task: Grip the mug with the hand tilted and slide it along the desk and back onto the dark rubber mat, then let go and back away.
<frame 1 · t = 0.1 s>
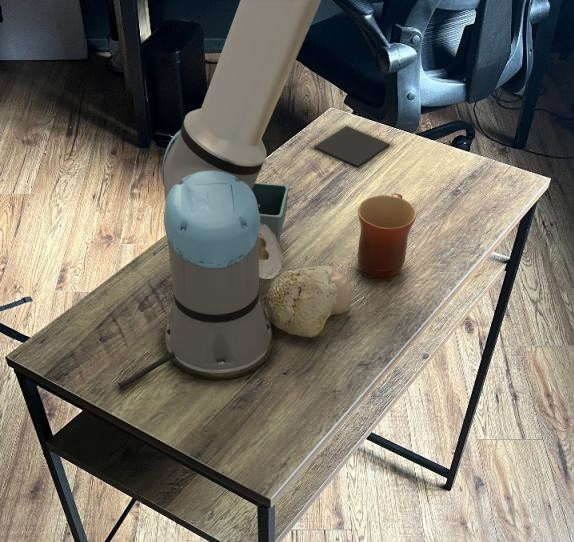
mat: (351, 146, 152), on the table
flower pot: (257, 249, 133), on the table
mug: (382, 264, 131), on the table
garlic bulb: (320, 303, 120), point 3 cm above the table, touching decorative item
decorative item: (316, 337, 119), point 1 cm above the table, touching figurine, garlic bulb
figurine: (274, 244, 117), point 10 cm above the table, touching arm, decorative item
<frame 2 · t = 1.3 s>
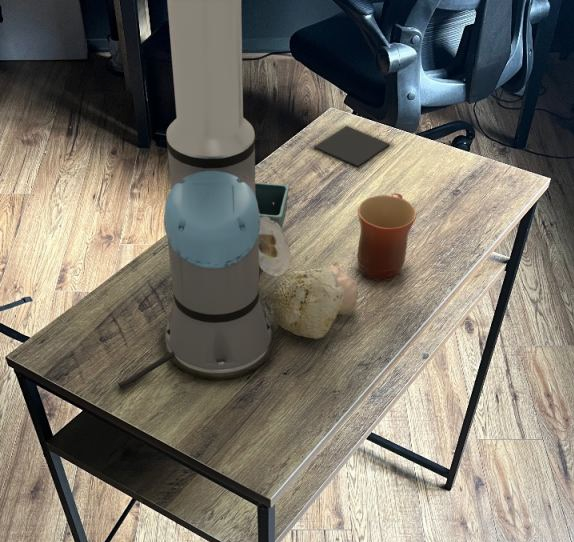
figurine: (285, 243, 117), point 10 cm above the table, touching arm, decorative item
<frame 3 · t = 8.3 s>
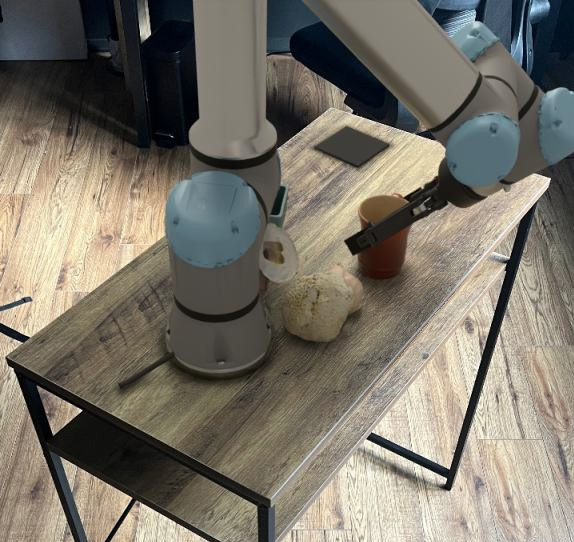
hand: (373, 229, 128), 5 cm above the table, tool tilted 45°, fingers closed on mug, 12 cm apart
mug: (382, 264, 131), on the table, touching gripper
garlic bulb: (332, 304, 120), point 3 cm above the table
decorative item: (331, 342, 119), point 1 cm above the table, touching figurine
figurine: (291, 249, 117), point 9 cm above the table, touching arm, decorative item
everything else where it was.
when the fingers open (5 cm above the table, at t = 17.3 s): mug stays where it is, resting on mat.
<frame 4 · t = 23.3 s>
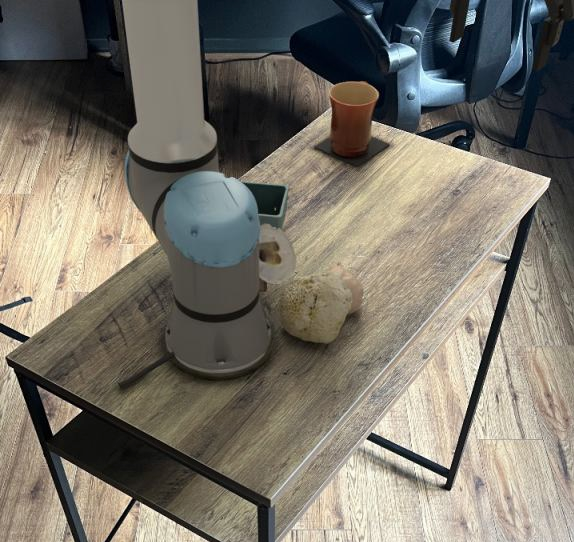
hand: (496, 53, 118), 27 cm above the table, tool pointing down, fingers open, 13 cm apart
mug: (351, 146, 152), resting on mat
figurine: (287, 249, 116), point 10 cm above the table, touching decorative item
at the end: mug inside the target area on the mat (0.1 cm from its centre), point 0.1 cm above the mat's base; mug tilted 0°; the gripper is holding nothing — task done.
